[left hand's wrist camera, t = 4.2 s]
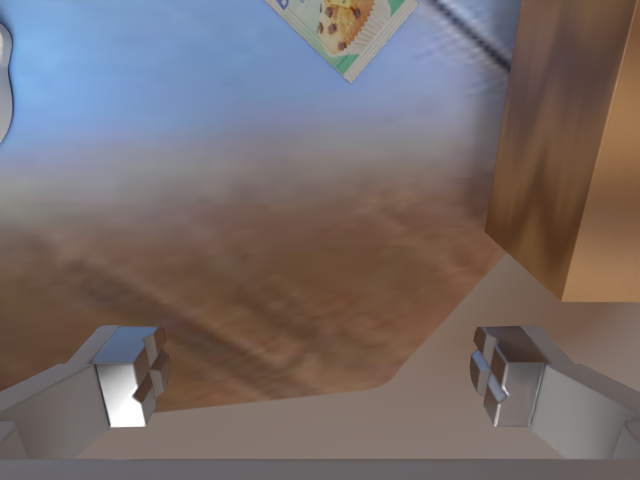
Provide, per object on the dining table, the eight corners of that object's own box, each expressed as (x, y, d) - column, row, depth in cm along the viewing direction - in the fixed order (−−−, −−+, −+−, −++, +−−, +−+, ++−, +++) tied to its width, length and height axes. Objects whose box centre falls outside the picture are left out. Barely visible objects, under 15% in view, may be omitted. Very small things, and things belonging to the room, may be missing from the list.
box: (552, 232, 37) (661, 302, 25) (484, 232, 37) (561, 302, 25) (634, -135, 27) (873, -300, 15) (542, -135, 27) (711, -300, 15)
